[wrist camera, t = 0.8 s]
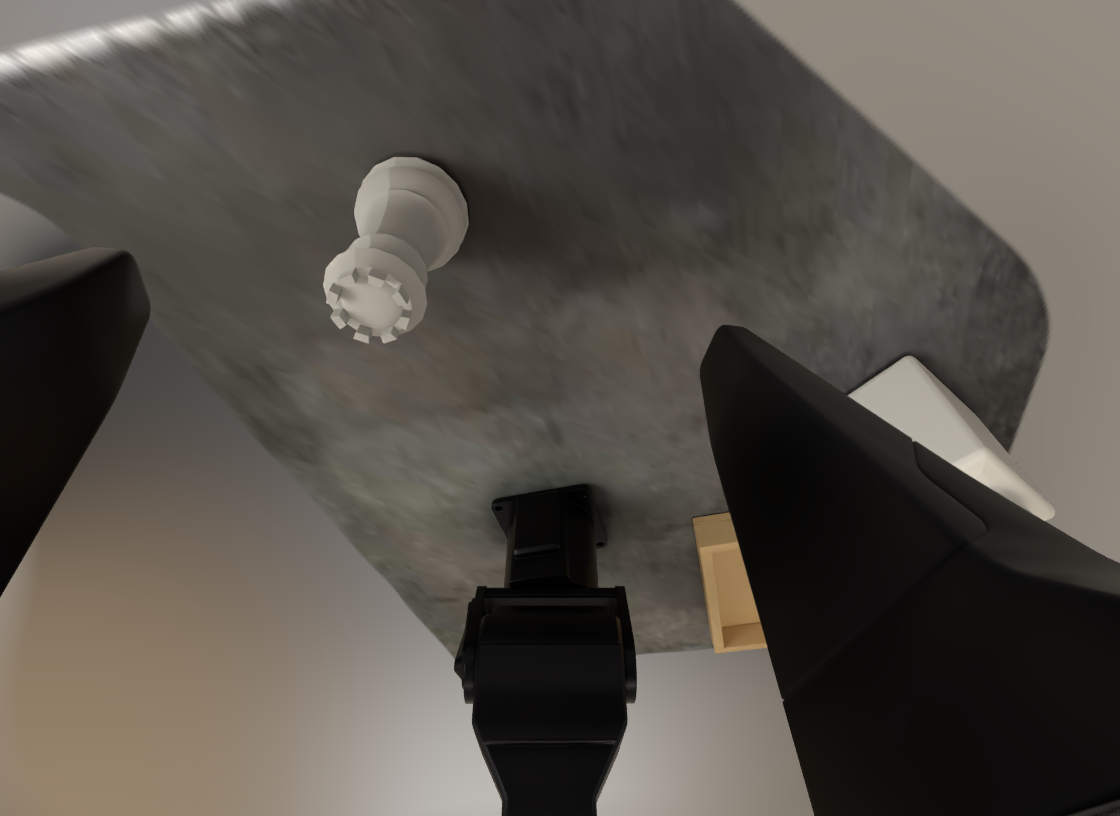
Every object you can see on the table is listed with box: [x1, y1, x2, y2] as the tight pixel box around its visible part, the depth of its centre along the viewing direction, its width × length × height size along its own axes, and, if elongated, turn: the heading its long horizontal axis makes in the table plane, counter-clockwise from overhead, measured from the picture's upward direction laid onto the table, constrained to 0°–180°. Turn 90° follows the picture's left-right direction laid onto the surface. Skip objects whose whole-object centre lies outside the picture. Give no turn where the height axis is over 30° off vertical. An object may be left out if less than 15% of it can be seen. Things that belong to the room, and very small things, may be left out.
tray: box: [692, 512, 767, 653], centre depth 40 cm, size 16×14×2 cm
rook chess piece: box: [323, 157, 469, 344], centre depth 20 cm, size 4×4×8 cm
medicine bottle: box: [847, 356, 1055, 521], centre depth 27 cm, size 7×7×12 cm
